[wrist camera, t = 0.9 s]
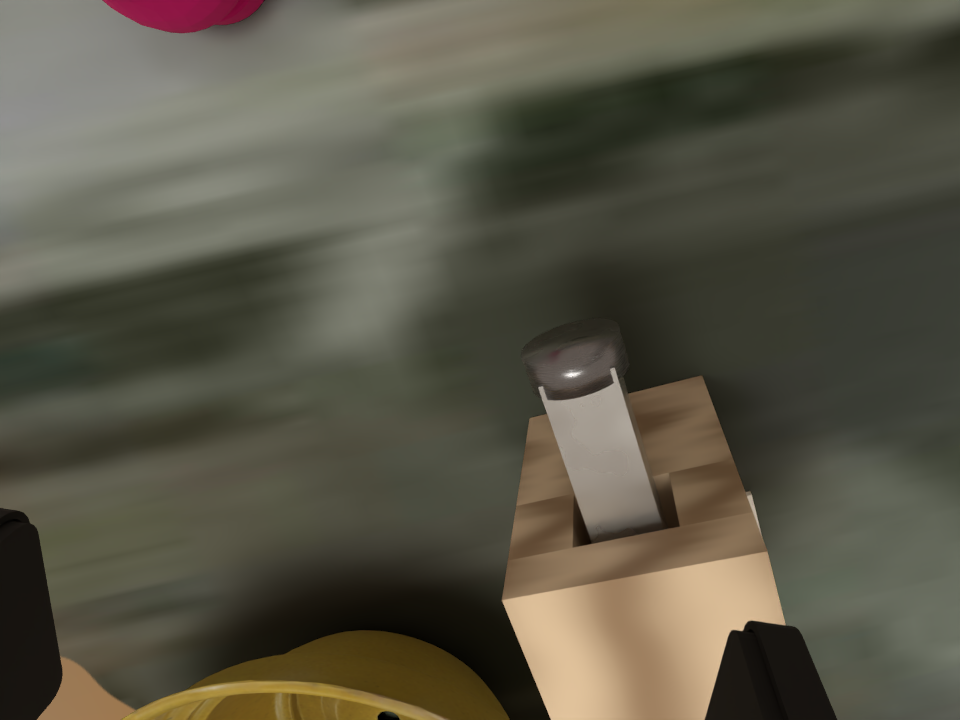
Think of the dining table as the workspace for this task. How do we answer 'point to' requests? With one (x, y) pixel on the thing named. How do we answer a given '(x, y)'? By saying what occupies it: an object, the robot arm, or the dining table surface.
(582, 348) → the shaft
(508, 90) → the dining table surface
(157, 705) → the planter bowl
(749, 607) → the block
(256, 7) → the pepper mill
